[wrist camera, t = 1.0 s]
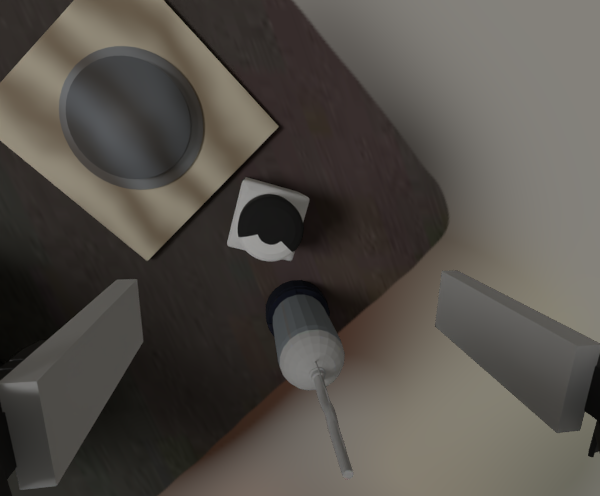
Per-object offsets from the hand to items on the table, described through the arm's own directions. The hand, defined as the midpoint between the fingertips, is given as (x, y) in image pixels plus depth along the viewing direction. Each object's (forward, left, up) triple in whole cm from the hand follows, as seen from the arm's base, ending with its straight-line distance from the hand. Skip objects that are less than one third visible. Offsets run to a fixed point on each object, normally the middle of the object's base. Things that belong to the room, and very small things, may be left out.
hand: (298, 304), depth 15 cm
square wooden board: (-14, +10, -28) cm, 33 cm away
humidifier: (+4, -13, -28) cm, 32 cm away
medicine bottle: (0, 0, -28) cm, 29 cm away
